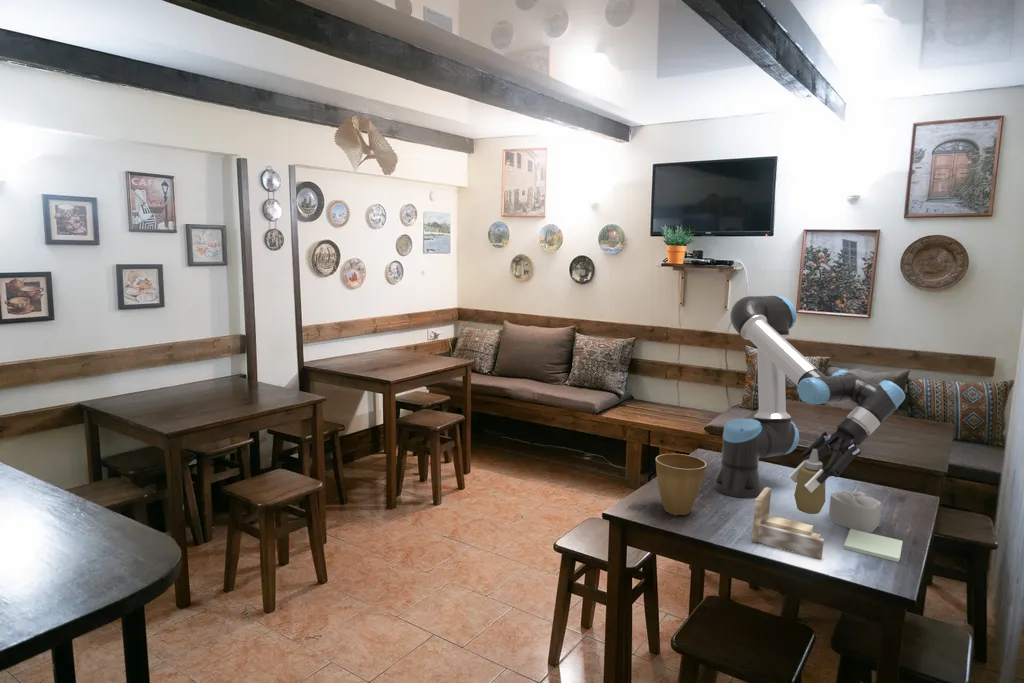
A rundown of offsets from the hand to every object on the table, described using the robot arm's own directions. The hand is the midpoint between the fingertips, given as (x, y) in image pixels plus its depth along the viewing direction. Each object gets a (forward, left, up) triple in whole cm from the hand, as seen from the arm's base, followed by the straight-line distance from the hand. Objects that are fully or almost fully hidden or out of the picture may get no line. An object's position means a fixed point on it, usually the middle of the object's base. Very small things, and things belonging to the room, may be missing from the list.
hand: (799, 484), depth 184 cm
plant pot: (-33, -4, -15) cm, 36 cm away
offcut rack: (0, -6, -15) cm, 16 cm away
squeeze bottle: (+2, +3, -8) cm, 9 cm away
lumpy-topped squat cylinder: (+12, +20, -15) cm, 28 cm away
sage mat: (+19, +5, -15) cm, 25 cm away
